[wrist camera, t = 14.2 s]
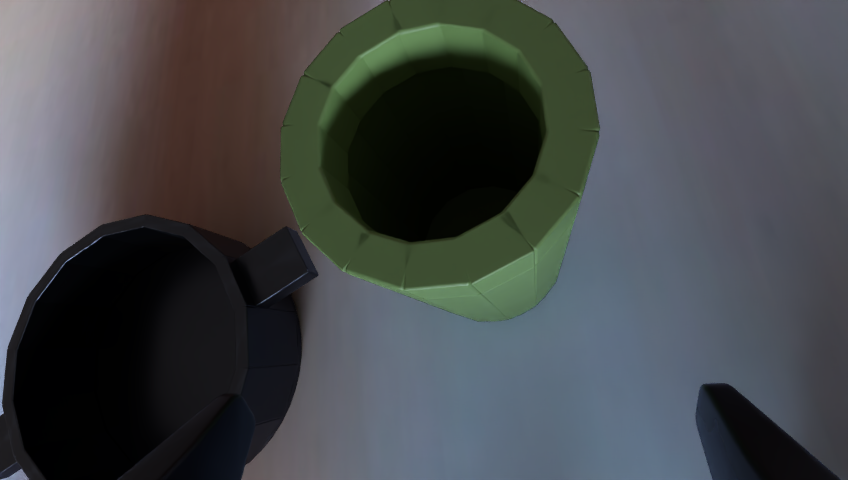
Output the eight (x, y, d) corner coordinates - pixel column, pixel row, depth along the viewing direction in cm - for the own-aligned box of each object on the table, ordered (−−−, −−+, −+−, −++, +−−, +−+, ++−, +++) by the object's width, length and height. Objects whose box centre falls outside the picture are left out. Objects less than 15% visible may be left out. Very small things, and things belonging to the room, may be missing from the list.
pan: (392, 375, 21) (356, 383, 17) (90, 561, 22) (-13, 611, 18) (284, 168, 25) (233, 132, 21) (32, 339, 26) (-63, 337, 22)
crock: (578, 202, 21) (636, 5, 9) (538, 341, 20) (541, 337, 8) (444, 170, 22) (339, -28, 11) (402, 296, 22) (235, 236, 10)
